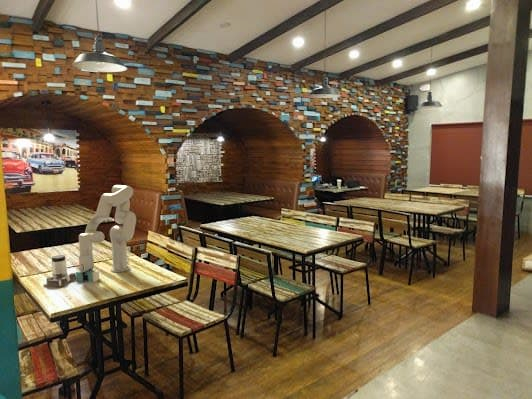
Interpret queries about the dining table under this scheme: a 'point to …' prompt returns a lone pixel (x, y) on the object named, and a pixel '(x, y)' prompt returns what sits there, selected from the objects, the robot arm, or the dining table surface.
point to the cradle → (60, 280)
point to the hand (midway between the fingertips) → (87, 278)
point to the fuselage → (92, 275)
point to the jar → (59, 264)
